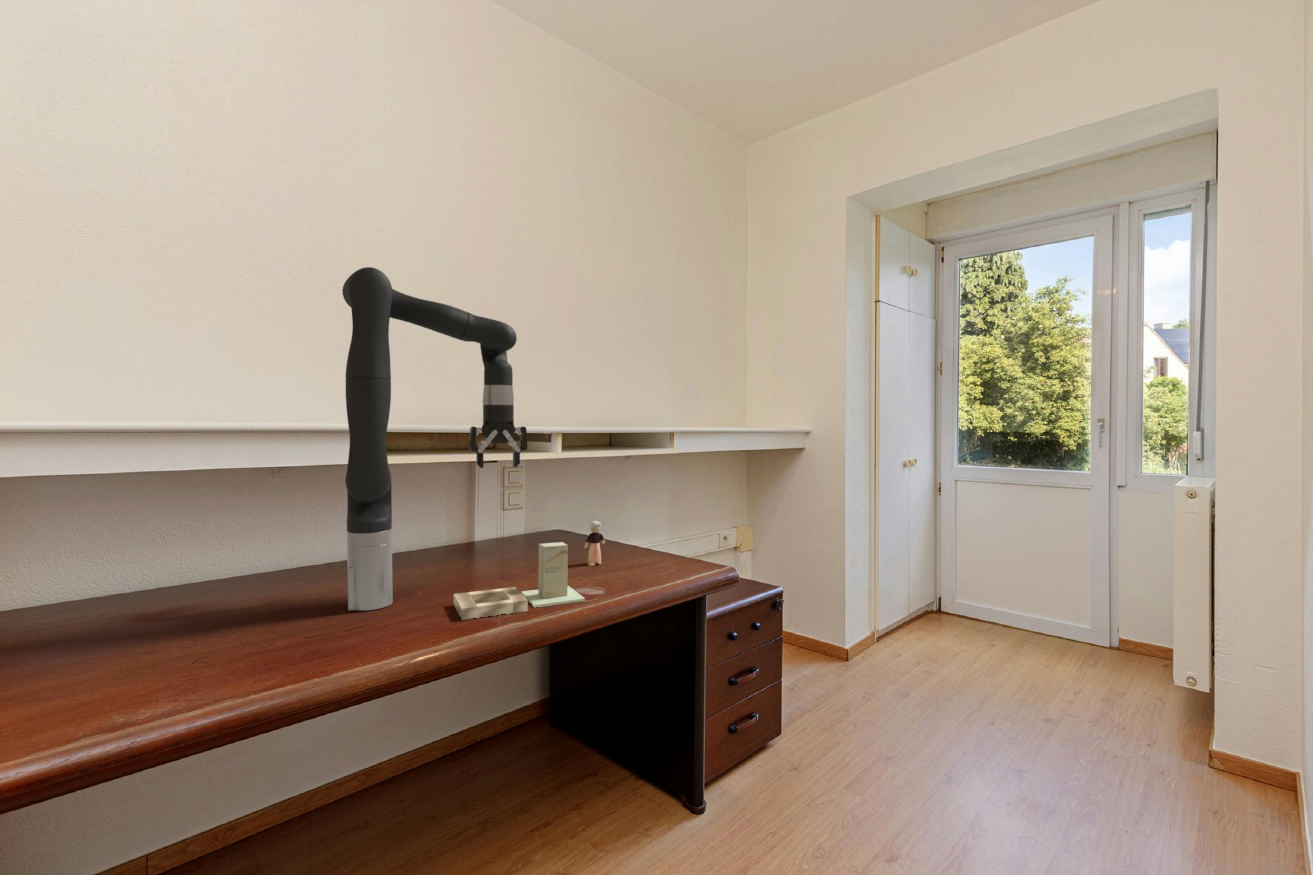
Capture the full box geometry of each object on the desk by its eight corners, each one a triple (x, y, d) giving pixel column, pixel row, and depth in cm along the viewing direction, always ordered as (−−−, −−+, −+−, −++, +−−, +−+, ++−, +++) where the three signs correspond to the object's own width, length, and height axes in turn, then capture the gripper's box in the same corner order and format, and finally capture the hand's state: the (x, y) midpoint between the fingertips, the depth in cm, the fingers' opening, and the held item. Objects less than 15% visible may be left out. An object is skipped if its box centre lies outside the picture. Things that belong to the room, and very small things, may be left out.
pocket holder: (462, 620, 131) (462, 608, 131) (453, 604, 142) (453, 594, 142) (527, 611, 137) (527, 600, 137) (514, 597, 148) (514, 586, 148)
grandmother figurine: (592, 567, 177) (592, 523, 177) (582, 565, 179) (581, 521, 179) (608, 562, 184) (608, 519, 183) (598, 560, 186) (598, 518, 185)
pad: (534, 607, 140) (534, 605, 140) (521, 593, 151) (521, 591, 151) (584, 600, 145) (584, 598, 145) (568, 588, 156) (568, 585, 156)
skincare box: (542, 598, 145) (542, 546, 144) (537, 593, 149) (537, 543, 148) (568, 595, 147) (568, 544, 147) (563, 590, 152) (563, 541, 151)
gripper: (471, 402, 151) (472, 469, 152) (529, 403, 157) (530, 467, 158) (466, 403, 158) (467, 467, 158) (522, 404, 164) (522, 465, 165)
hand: (498, 467), depth 158 cm, fingers open, 8 cm apart
